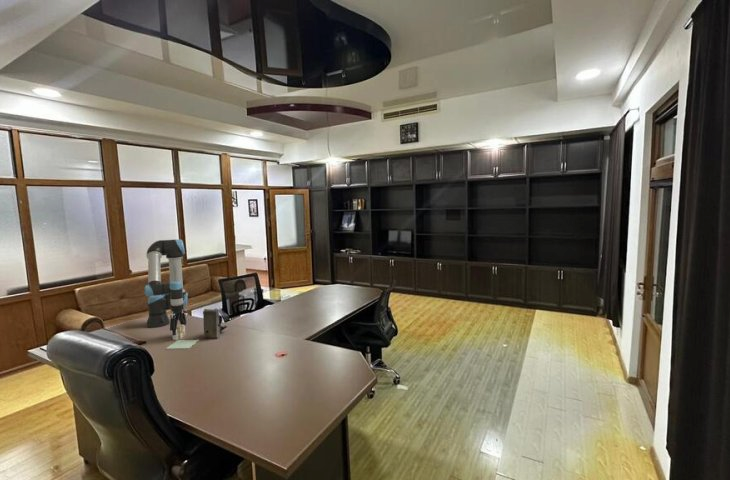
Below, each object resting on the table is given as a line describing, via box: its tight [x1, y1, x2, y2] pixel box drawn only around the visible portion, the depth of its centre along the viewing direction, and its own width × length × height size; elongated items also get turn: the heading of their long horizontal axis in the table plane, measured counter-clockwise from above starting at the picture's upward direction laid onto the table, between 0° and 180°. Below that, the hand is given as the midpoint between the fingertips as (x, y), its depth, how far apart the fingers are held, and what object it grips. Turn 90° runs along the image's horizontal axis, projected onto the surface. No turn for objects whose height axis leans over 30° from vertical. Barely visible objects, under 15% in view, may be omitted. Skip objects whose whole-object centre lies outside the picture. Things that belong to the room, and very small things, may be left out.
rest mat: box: [165, 339, 200, 350], centre depth 218 cm, size 14×14×1 cm
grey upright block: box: [202, 308, 228, 339], centre depth 234 cm, size 10×16×20 cm, turn 174°
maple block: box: [176, 324, 186, 340], centre depth 231 cm, size 5×5×8 cm
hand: (179, 337), depth 232 cm, fingers open, 9 cm apart
